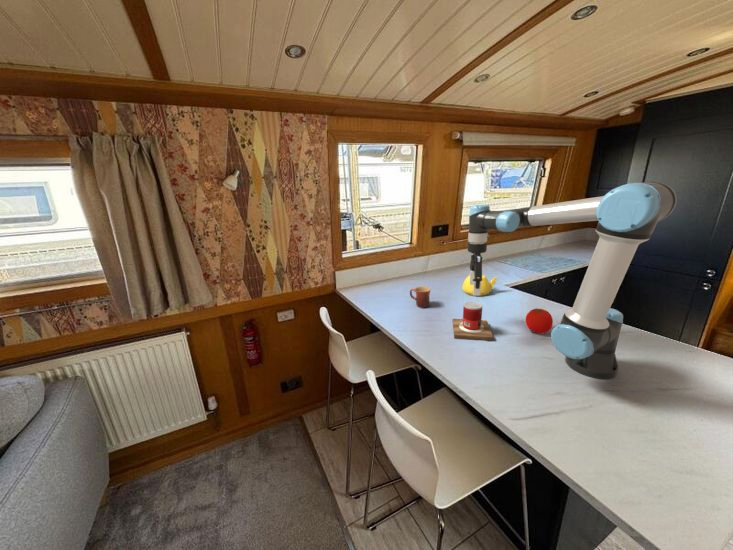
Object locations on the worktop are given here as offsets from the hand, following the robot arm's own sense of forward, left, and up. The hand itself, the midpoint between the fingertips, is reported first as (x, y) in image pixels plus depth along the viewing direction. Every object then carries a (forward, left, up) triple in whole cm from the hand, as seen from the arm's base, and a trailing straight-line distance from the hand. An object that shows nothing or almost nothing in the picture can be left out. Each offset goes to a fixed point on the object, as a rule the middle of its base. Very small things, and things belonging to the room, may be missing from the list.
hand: (474, 289), depth 127 cm
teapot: (+53, -10, -21) cm, 58 cm away
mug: (+27, +25, -21) cm, 42 cm away
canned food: (0, 0, -19) cm, 19 cm away
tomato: (+4, -29, -21) cm, 36 cm away
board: (0, 0, -21) cm, 21 cm away
